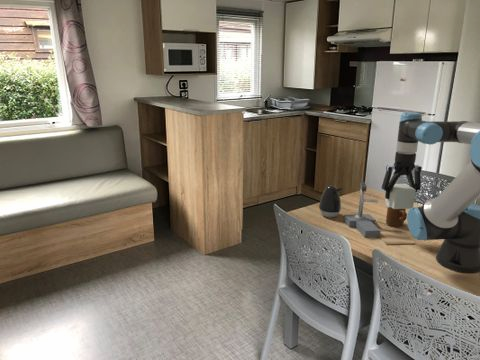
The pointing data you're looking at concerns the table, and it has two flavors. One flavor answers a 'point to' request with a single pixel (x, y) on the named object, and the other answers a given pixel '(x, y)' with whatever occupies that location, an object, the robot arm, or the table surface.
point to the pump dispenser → (330, 202)
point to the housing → (363, 224)
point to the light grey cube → (402, 196)
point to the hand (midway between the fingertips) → (398, 205)
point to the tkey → (362, 200)
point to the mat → (395, 238)
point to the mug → (395, 217)
